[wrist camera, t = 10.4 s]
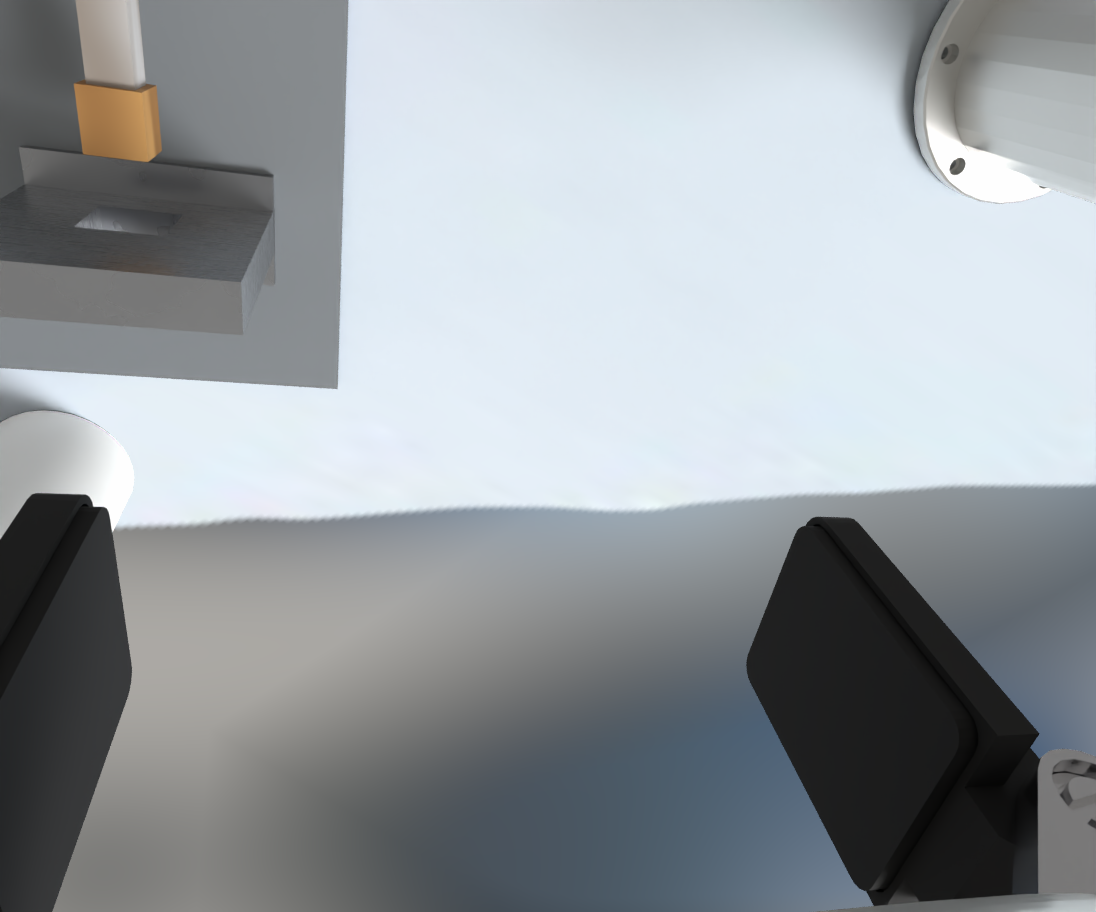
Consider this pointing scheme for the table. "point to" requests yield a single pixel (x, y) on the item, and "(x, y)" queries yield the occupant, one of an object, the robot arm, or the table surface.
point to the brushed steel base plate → (135, 243)
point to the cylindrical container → (61, 463)
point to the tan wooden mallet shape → (115, 84)
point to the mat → (209, 141)
